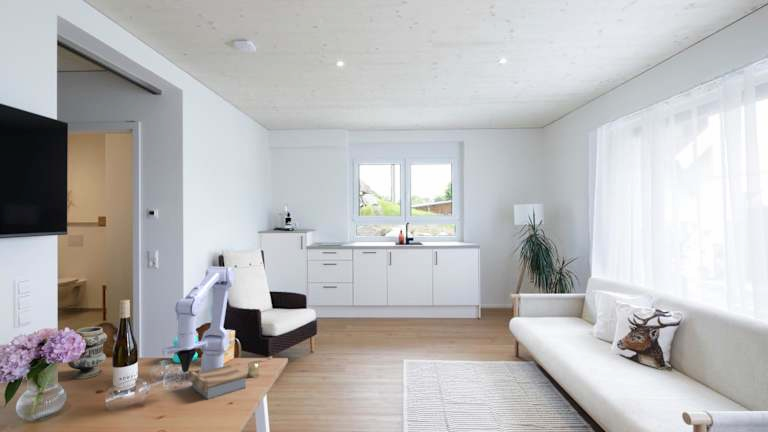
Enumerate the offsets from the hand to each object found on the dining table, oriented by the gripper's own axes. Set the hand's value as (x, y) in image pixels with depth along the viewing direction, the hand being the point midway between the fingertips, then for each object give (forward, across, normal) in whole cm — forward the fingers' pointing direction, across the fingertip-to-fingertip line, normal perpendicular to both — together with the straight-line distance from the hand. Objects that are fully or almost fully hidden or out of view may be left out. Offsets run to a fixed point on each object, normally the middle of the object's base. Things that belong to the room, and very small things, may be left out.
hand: (185, 371), depth 134 cm
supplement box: (+10, +26, +27) cm, 38 cm away
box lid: (+6, +12, 0) cm, 13 cm away
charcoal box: (+9, +12, 0) cm, 15 cm away
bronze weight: (+10, +27, +3) cm, 29 cm away
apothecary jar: (+10, -21, +47) cm, 53 cm away
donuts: (+10, +13, +39) cm, 43 cm away
